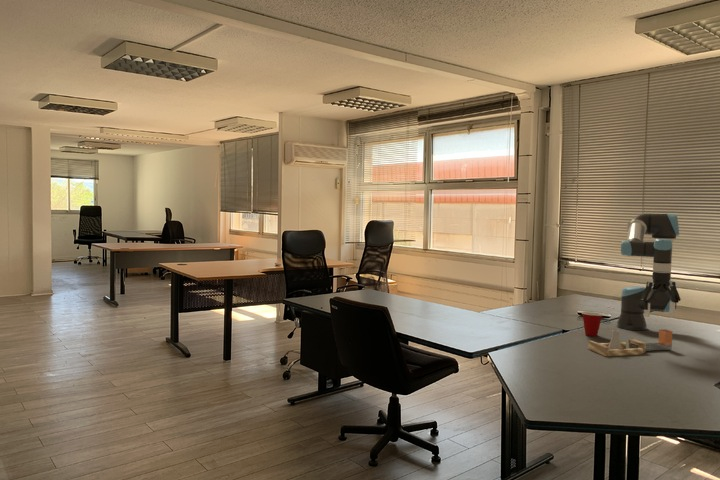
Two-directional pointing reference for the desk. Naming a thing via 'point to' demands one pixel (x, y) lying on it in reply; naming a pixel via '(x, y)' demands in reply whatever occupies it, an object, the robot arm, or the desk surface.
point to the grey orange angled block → (659, 342)
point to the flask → (615, 341)
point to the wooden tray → (604, 349)
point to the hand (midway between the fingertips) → (659, 316)
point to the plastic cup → (591, 323)
